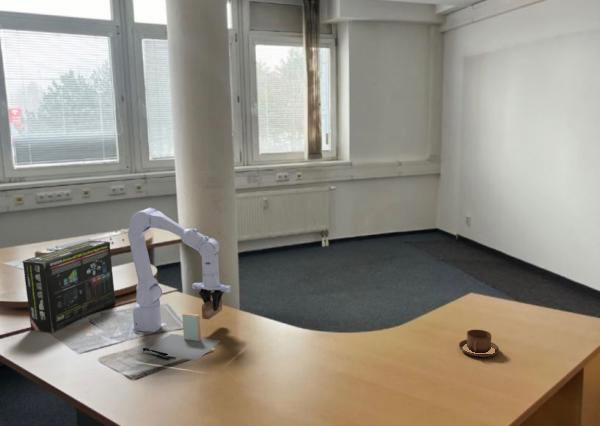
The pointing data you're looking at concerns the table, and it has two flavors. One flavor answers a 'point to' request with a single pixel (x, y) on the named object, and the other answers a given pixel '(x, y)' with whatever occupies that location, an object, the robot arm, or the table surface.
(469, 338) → the cup and saucer
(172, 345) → the mat
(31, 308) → the router box
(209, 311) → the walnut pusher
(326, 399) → the table surface
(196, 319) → the tile
